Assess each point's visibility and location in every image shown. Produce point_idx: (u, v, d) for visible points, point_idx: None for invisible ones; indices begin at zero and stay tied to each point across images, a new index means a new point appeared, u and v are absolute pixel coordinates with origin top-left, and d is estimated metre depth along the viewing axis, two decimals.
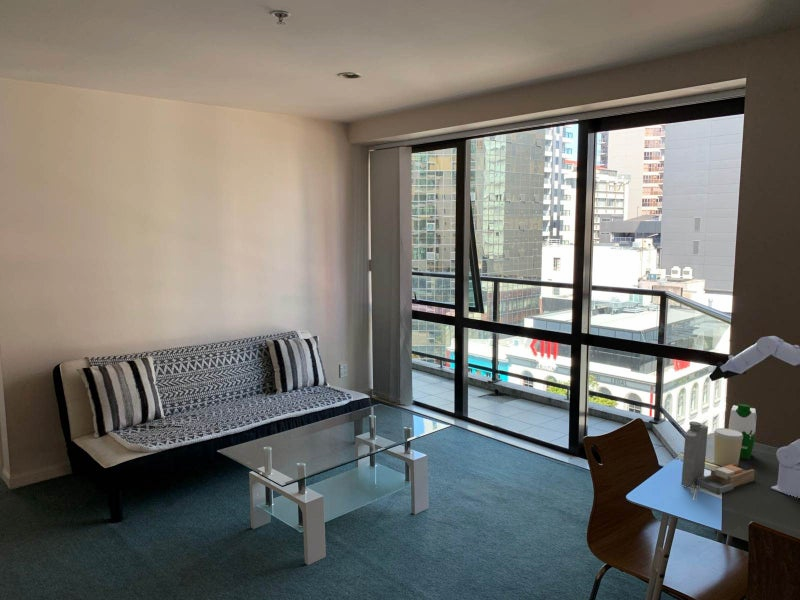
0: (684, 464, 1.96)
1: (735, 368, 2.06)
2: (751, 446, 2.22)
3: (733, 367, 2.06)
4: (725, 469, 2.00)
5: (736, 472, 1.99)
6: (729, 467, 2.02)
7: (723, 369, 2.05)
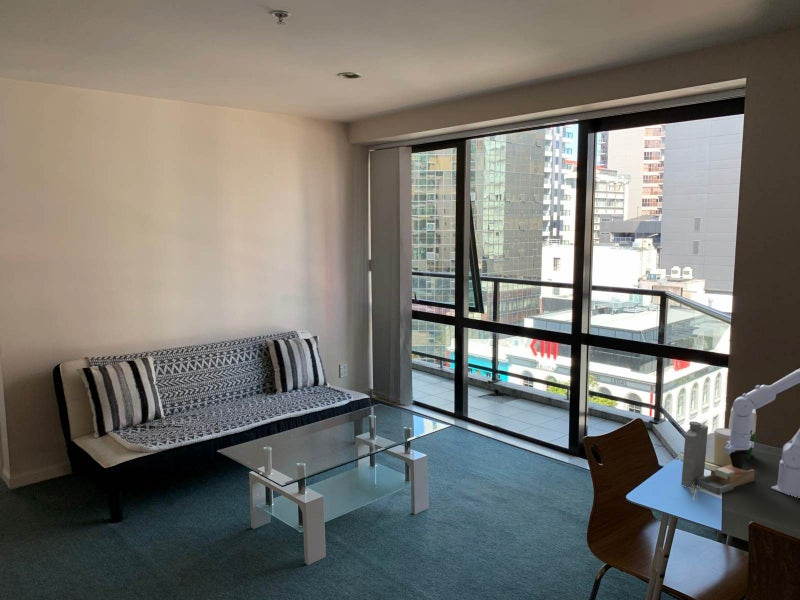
0: (684, 464, 1.96)
1: (738, 446, 1.99)
2: None
3: (736, 446, 2.00)
4: (725, 469, 2.00)
5: (735, 472, 1.99)
6: (728, 467, 2.01)
7: (727, 451, 1.98)
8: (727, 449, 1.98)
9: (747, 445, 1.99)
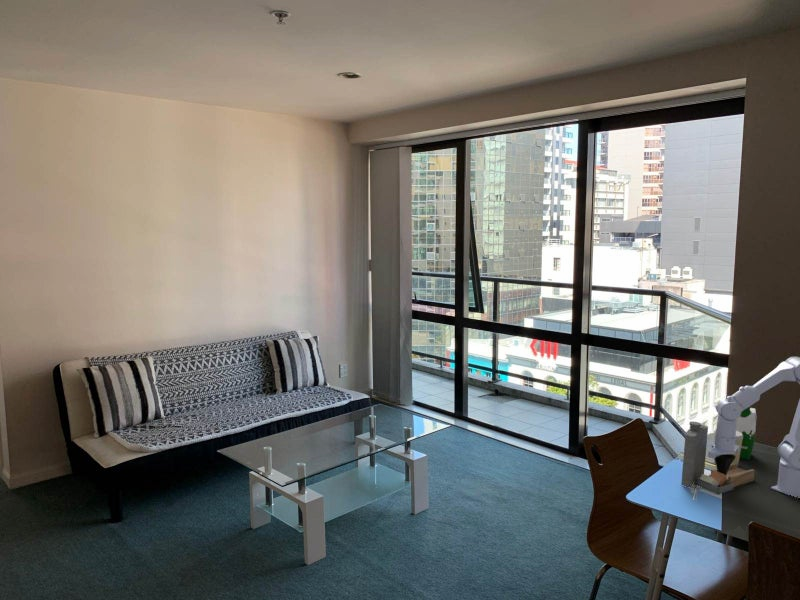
0: (684, 464, 1.96)
1: (723, 450, 1.95)
2: (751, 446, 2.22)
3: (720, 451, 1.95)
4: (706, 482, 1.95)
5: (720, 483, 1.95)
6: (712, 477, 1.97)
7: (712, 456, 1.94)
8: (712, 453, 1.94)
9: (732, 449, 1.95)
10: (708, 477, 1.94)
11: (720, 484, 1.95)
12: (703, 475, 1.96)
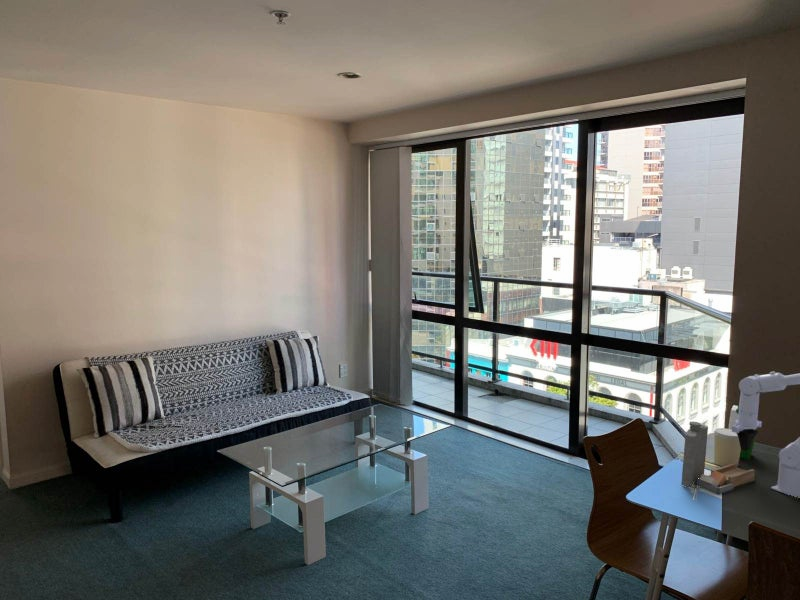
0: (684, 464, 1.96)
1: (746, 425, 2.00)
2: (751, 446, 2.22)
3: (744, 425, 2.01)
4: (706, 482, 1.95)
5: (720, 483, 1.95)
6: (712, 477, 1.97)
7: (735, 430, 1.99)
8: (735, 428, 1.99)
9: (755, 424, 2.00)
10: (708, 477, 1.94)
11: (720, 484, 1.95)
12: (703, 475, 1.95)
